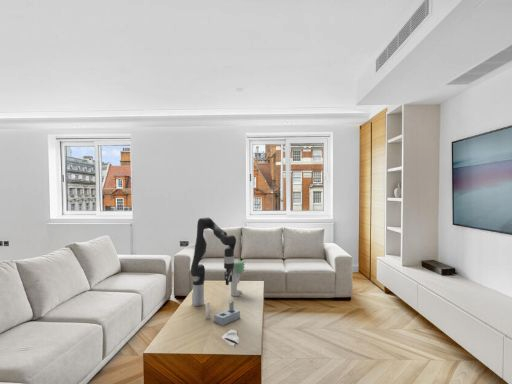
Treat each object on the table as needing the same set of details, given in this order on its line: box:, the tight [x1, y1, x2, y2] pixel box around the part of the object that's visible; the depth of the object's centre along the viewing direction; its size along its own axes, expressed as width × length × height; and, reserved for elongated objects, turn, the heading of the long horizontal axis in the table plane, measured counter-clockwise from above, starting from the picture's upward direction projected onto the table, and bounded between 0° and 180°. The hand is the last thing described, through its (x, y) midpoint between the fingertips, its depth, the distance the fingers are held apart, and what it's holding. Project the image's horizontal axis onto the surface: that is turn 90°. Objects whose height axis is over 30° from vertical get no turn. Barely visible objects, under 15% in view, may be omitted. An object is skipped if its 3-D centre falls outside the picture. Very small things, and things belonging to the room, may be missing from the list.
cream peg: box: [205, 301, 211, 320], centre depth 240 cm, size 3×3×12 cm
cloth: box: [221, 328, 240, 348], centre depth 208 cm, size 26×14×2 cm, turn 175°
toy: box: [230, 260, 245, 297], centre depth 295 cm, size 30×10×30 cm, turn 167°
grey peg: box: [228, 300, 235, 313], centre depth 241 cm, size 3×3×12 cm
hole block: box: [213, 308, 241, 326], centre depth 237 cm, size 9×18×5 cm, turn 140°
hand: (228, 283), depth 242 cm, fingers open, 8 cm apart
